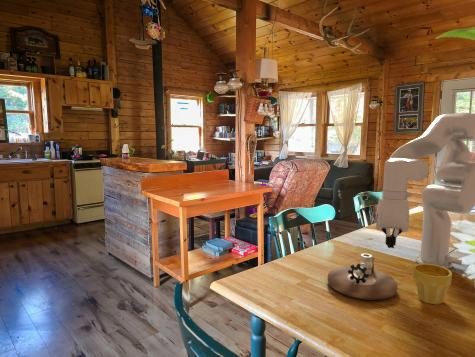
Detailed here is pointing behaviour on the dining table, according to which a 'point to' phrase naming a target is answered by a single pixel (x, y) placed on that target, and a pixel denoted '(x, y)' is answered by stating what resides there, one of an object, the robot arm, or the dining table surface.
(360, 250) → the dining table surface
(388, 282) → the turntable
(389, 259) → the dining table surface
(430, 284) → the plant pot
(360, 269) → the valve
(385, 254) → the dining table surface
